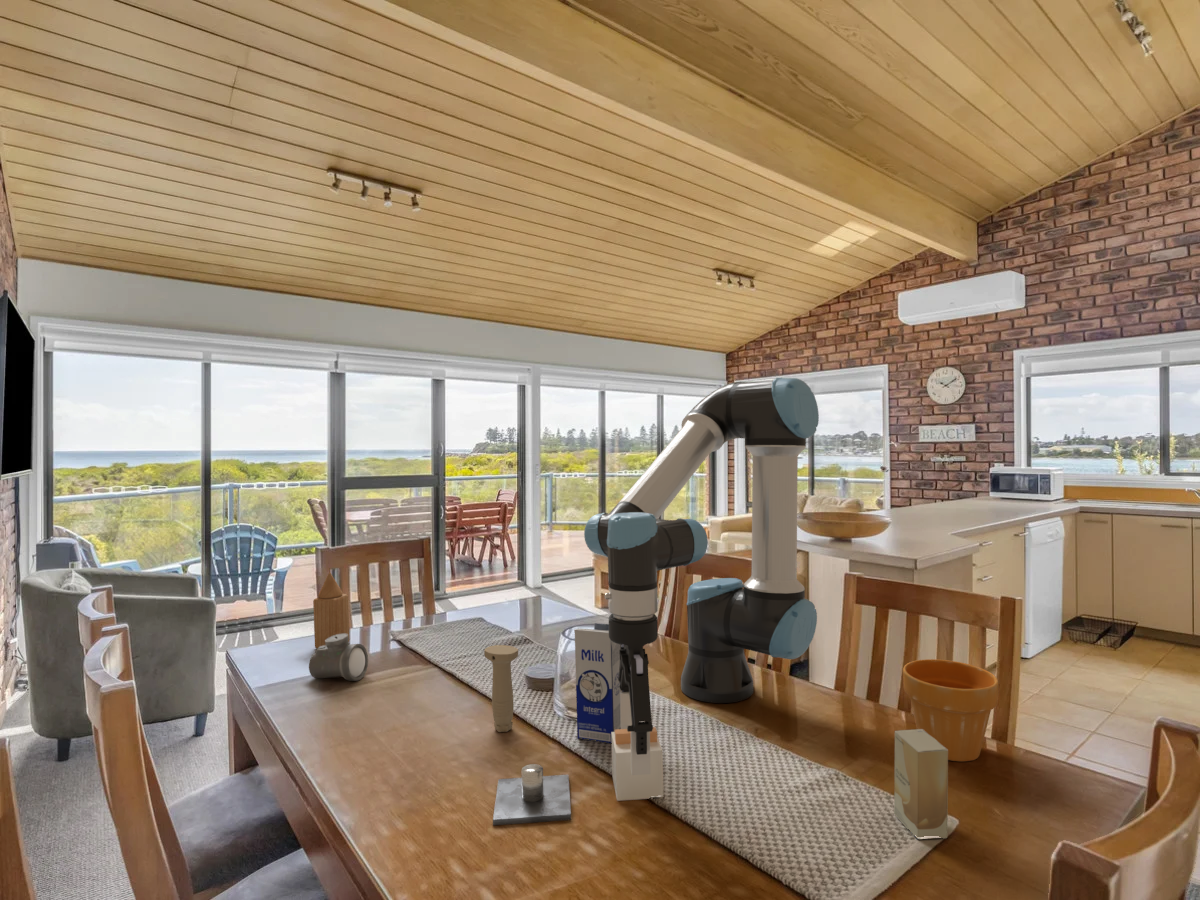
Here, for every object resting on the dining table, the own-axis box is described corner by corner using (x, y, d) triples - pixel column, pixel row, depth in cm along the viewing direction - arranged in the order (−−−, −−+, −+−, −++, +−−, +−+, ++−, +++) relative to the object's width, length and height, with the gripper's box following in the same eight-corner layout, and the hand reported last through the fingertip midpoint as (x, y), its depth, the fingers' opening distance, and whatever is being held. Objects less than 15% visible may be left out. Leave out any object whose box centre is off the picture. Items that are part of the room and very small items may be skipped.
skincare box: (893, 814, 93) (891, 729, 93) (922, 812, 94) (921, 727, 93) (918, 842, 87) (917, 750, 86) (950, 840, 87) (949, 748, 87)
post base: (568, 779, 105) (567, 749, 105) (571, 819, 94) (570, 786, 94) (498, 784, 104) (497, 754, 104) (493, 825, 93) (492, 791, 93)
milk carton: (576, 738, 119) (573, 628, 118) (589, 722, 125) (587, 618, 125) (613, 744, 116) (610, 631, 116) (625, 727, 123) (622, 620, 122)
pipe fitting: (373, 671, 155) (365, 629, 154) (352, 686, 147) (344, 642, 146) (329, 673, 158) (321, 632, 157) (307, 689, 150) (298, 645, 149)
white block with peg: (655, 773, 106) (654, 719, 106) (663, 797, 99) (662, 739, 99) (612, 776, 105) (611, 722, 105) (617, 800, 98) (615, 742, 98)
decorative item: (313, 649, 173) (311, 573, 173) (328, 641, 180) (325, 568, 179) (337, 649, 172) (334, 573, 172) (350, 641, 179) (348, 568, 178)
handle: (509, 738, 120) (507, 656, 119) (481, 731, 123) (479, 651, 122) (525, 727, 124) (522, 648, 123) (497, 720, 127) (495, 643, 127)
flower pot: (988, 736, 116) (987, 662, 115) (1009, 776, 102) (1008, 693, 102) (900, 726, 120) (898, 655, 120) (909, 763, 107) (907, 684, 107)
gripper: (601, 595, 114) (603, 718, 114) (617, 638, 89) (619, 795, 89) (645, 594, 114) (646, 716, 114) (672, 636, 89) (674, 792, 90)
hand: (634, 751), depth 102 cm, fingers open, 13 cm apart
